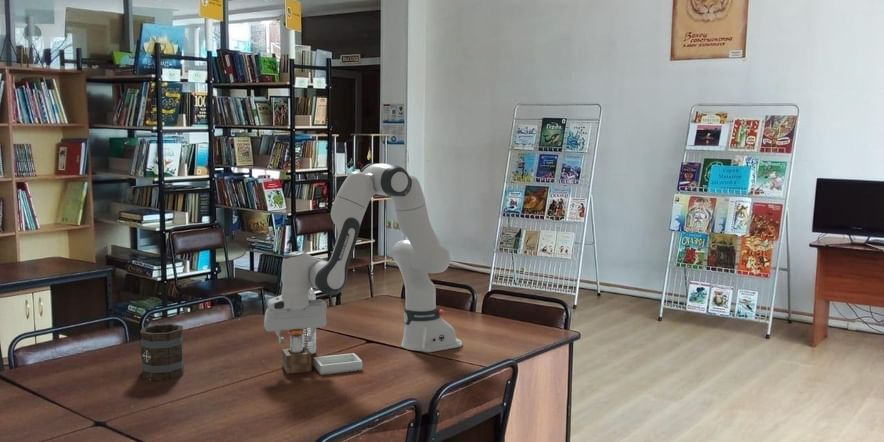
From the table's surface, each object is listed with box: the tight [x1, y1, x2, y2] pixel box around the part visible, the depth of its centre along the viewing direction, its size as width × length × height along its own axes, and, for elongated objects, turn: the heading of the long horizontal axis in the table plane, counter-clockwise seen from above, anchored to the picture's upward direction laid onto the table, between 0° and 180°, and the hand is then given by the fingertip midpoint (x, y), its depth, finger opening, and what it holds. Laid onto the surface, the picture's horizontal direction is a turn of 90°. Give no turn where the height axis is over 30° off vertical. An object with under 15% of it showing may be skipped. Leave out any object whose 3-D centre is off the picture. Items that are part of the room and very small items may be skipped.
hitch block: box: [281, 347, 312, 375], centre depth 255 cm, size 8×8×6 cm
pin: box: [288, 329, 304, 354], centre depth 254 cm, size 5×5×14 cm
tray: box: [313, 352, 363, 376], centre depth 256 cm, size 14×10×3 cm
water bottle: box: [302, 288, 317, 356], centre depth 272 cm, size 7×7×25 cm
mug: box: [139, 323, 185, 381], centre depth 250 cm, size 20×14×15 cm
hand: (295, 341), depth 254 cm, fingers open, 8 cm apart
